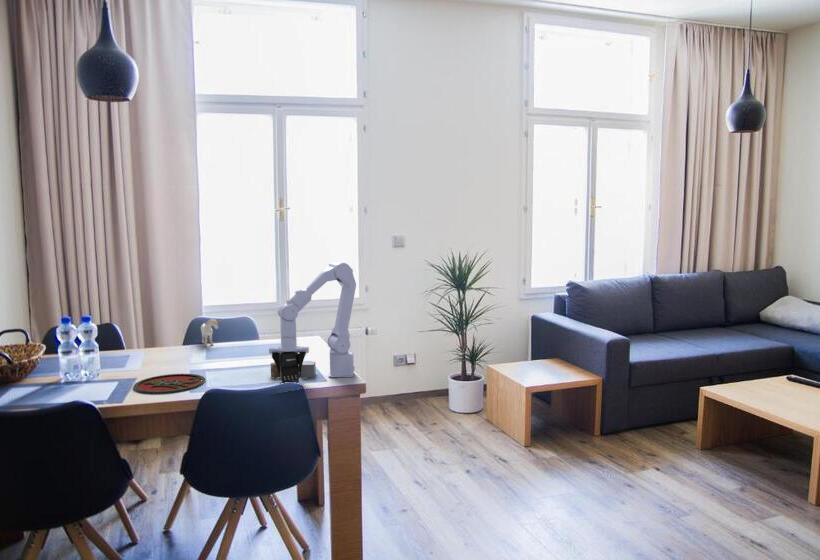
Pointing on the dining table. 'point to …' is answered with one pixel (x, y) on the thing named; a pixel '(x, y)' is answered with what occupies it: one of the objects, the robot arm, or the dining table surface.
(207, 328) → the unicorn figurine
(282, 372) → the battery
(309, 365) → the charcoal cube
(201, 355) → the dining table surface
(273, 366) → the walnut cylinder
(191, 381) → the decorative plate
